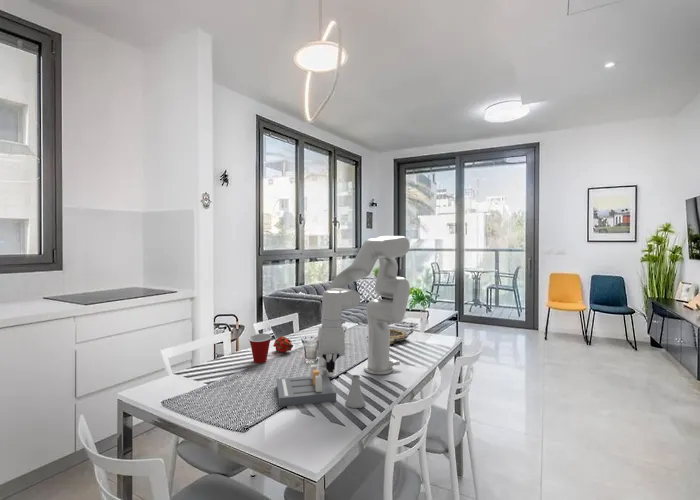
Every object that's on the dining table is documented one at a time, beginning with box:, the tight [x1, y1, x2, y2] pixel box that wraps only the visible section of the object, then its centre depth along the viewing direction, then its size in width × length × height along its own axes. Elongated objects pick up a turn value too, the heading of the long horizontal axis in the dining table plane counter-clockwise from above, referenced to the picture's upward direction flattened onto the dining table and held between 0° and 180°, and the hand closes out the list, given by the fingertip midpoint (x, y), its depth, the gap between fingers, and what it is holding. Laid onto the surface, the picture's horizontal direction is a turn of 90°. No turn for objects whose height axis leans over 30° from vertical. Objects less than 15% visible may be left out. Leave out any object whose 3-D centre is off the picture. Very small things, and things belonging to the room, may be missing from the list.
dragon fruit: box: [272, 335, 294, 354], centre depth 191 cm, size 8×8×12 cm
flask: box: [344, 374, 366, 409], centre depth 131 cm, size 7×7×10 cm
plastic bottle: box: [318, 354, 336, 379], centre depth 157 cm, size 6×7×20 cm
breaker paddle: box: [313, 369, 319, 386], centre depth 141 cm, size 2×2×5 cm
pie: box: [366, 328, 409, 345], centre depth 217 cm, size 28×27×5 cm
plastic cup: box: [248, 333, 273, 364], centre depth 175 cm, size 11×11×12 cm
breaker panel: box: [276, 364, 337, 408], centre depth 140 cm, size 20×18×8 cm
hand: (330, 371), depth 142 cm, fingers closed
